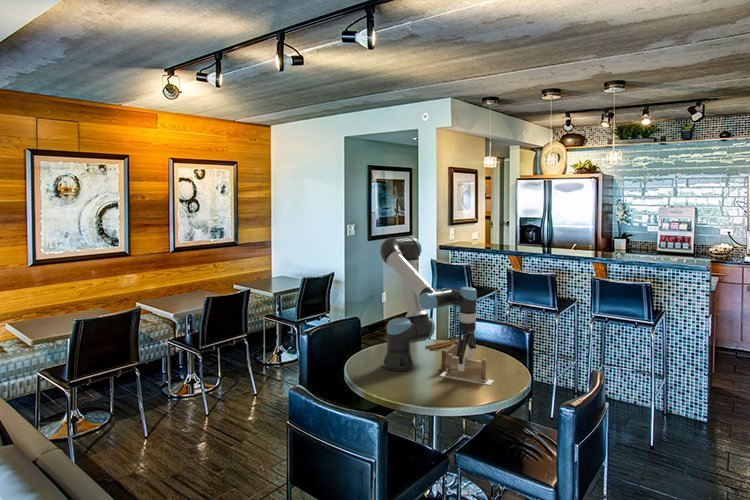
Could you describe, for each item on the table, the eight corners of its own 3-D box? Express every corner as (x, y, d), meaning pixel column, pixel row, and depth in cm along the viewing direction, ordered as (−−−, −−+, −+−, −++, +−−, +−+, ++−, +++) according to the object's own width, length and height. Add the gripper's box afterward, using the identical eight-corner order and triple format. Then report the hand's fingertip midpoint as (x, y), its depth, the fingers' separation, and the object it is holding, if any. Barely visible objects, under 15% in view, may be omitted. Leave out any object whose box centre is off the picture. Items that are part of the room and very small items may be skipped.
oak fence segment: (485, 382, 224) (485, 361, 223) (445, 375, 233) (445, 354, 232) (487, 379, 228) (488, 358, 227) (448, 372, 237) (448, 352, 236)
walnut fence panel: (438, 370, 241) (438, 350, 240) (453, 358, 259) (453, 340, 258) (446, 372, 239) (447, 352, 238) (461, 360, 257) (461, 341, 256)
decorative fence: (422, 348, 280) (434, 352, 272) (422, 344, 280) (434, 349, 271) (455, 341, 294) (468, 345, 286) (456, 337, 294) (468, 341, 285)
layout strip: (439, 376, 234) (439, 375, 234) (444, 372, 239) (444, 371, 239) (490, 385, 222) (490, 384, 222) (493, 381, 227) (493, 380, 227)
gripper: (466, 328, 215) (464, 376, 217) (483, 316, 237) (481, 359, 239) (450, 326, 219) (448, 372, 221) (468, 314, 240) (466, 357, 243)
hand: (465, 366), depth 230 cm, fingers open, 13 cm apart
